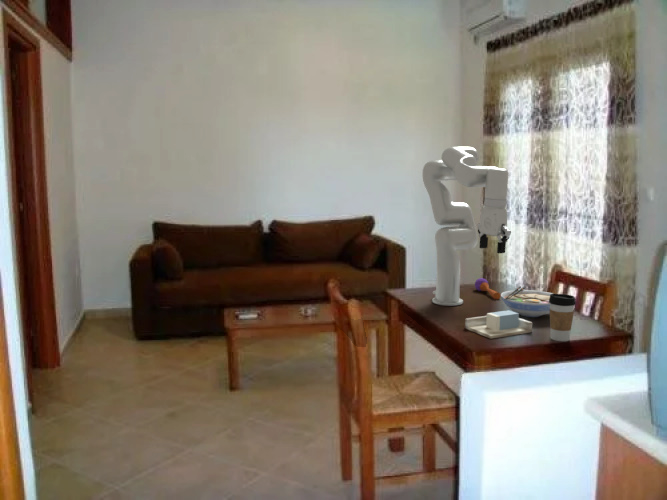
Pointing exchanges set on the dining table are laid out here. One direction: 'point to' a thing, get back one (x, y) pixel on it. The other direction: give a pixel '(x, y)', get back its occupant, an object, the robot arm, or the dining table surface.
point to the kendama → (486, 288)
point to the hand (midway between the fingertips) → (492, 250)
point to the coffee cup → (561, 316)
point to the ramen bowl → (527, 302)
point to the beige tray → (480, 327)
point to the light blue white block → (502, 320)
